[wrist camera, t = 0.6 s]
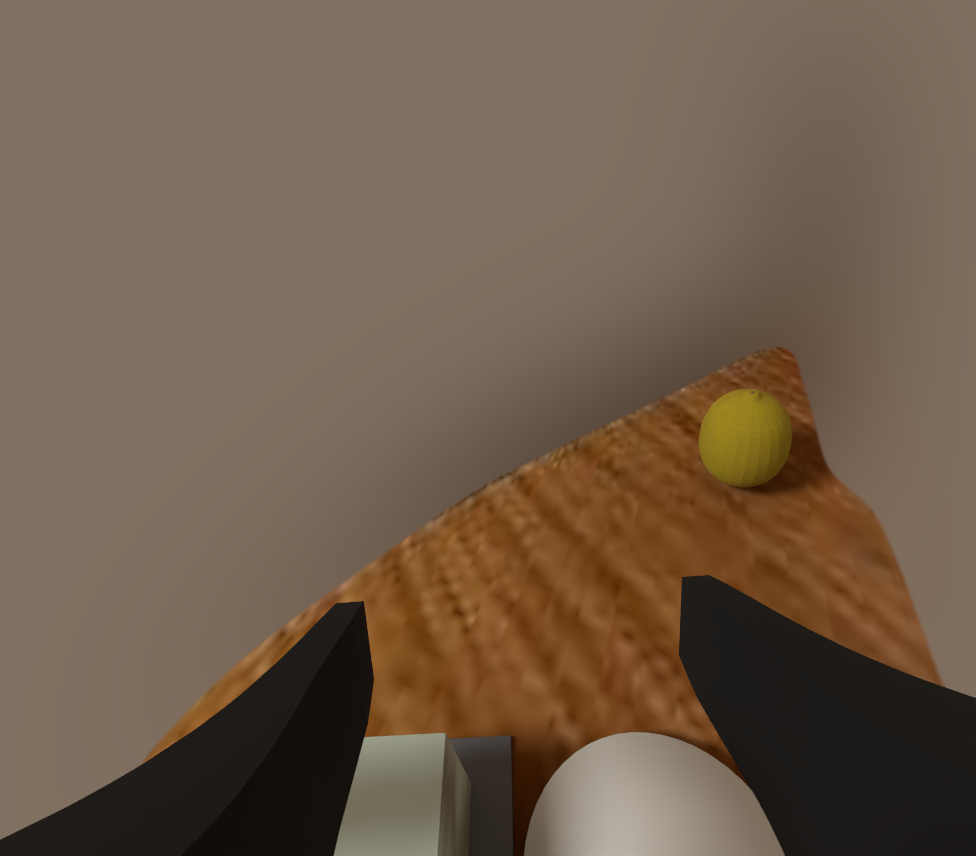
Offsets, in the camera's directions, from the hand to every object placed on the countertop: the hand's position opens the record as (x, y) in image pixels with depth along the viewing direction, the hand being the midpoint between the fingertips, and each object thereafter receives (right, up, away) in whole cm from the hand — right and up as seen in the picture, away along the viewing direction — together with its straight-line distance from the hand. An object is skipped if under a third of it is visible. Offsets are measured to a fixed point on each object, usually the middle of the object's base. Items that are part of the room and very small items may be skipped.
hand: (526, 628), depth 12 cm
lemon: (+17, 0, +26) cm, 31 cm away
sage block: (-4, -15, +12) cm, 20 cm away
